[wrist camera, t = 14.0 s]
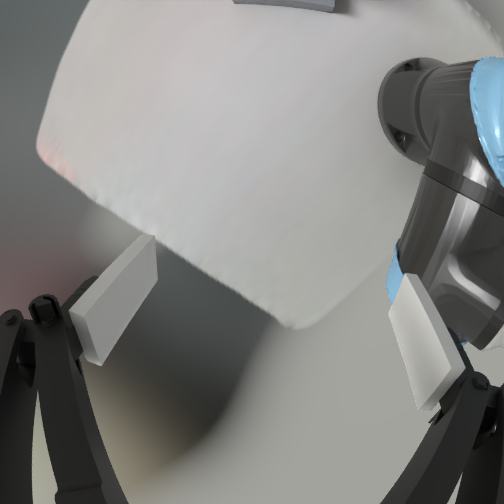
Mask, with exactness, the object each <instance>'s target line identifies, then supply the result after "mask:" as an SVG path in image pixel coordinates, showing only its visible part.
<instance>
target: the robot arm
mask: <svg viewBox="0 0 504 504" xmlns="http://www.w3.org/2000/svg"><path fill="white" fill-rule="evenodd" d="M378 114H379V119H380V123H381V126H382V128H383V131H384V133H385V135H386V136H387V138H388V140H389V141H390V143H391V144H392V145H393V146H394V147H395V148H396V150H398V151H399V152H400V153H401V154H402V155H404V156H405V157H407V158H408V159H410V160H412V161H414V162H416V163H418V164H420V165H423V166H425V169H424V172H423V174H422V178H421V181H420V184H419V187H418V190H417V193H416V196H415V199H414V202H413V205H412V208H411V211H410V214H409V216H408V219H407V222H406V224H405V227H404V230H403V232H402V235H401V238H400V239H398V241H397V243H396V245H395V249H394V256H393V259H392V262H391V264H390V267H389V270H388V273H387V277H386V289H387V292H388V295H389V300H390V303H391V305H392V306H391V309H390V311H389V313H388V315H389V318H390V321H391V324H392V326H393V329H394V332H395V335H396V338H397V341H398V344H399V347H400V351H401V354H402V357H403V360H404V363H405V367H406V370H407V373H408V377H409V380H410V384H411V387H412V391H413V395H414V398H415V402H416V406H417V410H418V411H426V410H432V409H433V408H434V407H435V406H436V405H437V403H438V402H439V403H440V406H441V409H440V410H439V411H438V412H437V413H436V414H435V415H434V417H433V418H432V419H431V420H430V421H429V422H428V423H431V422H432V421H433V422H432V424H431V426H430V428H429V429H428V431H427V433H426V435H425V437H424V438H423V440H422V442H421V444H420V445H419V447H418V449H417V451H416V452H415V454H414V455H413V457H412V459H411V460H410V462H409V463H408V465H407V467H406V468H405V470H404V471H403V473H402V474H401V476H400V477H399V479H398V480H397V482H396V483H395V484H394V486H393V487H392V488H391V490H390V491H389V493H388V494H387V495H386V497H385V498H384V499H383V501H382V502H381V503H380V504H447V503H448V501H449V499H450V497H451V495H452V493H453V491H454V489H455V487H456V485H457V483H458V480H459V478H460V476H461V474H462V478H461V482H460V487H459V491H458V495H457V498H456V502H455V504H504V383H503V385H502V386H501V387H496V386H492V385H490V382H489V380H488V379H487V377H486V376H485V375H483V374H482V373H480V372H476V371H474V369H473V367H472V365H471V363H470V360H469V358H468V356H467V354H466V352H465V351H464V348H463V345H465V344H466V343H467V342H469V343H471V344H472V345H474V346H475V347H476V348H477V349H479V350H480V351H482V352H484V351H488V350H491V349H494V348H498V347H503V348H504V58H498V57H497V58H496V57H485V58H482V59H481V60H474V61H468V62H462V63H456V64H450V65H448V64H446V63H444V62H441V61H439V60H436V59H432V58H413V59H410V60H407V61H404V62H401V63H399V64H398V65H396V66H395V67H393V68H392V69H391V70H390V71H389V72H388V73H387V75H386V76H385V78H384V80H383V81H382V84H381V86H380V90H379V94H378ZM157 280H158V278H157V265H156V251H155V236H153V235H146V234H141V235H140V236H139V237H138V238H137V239H136V240H135V241H134V242H133V243H132V244H131V245H130V246H129V247H128V248H127V249H126V250H125V251H124V252H123V253H122V254H121V255H120V256H119V257H118V258H117V259H116V260H115V261H114V262H113V263H112V264H111V265H110V266H109V267H108V268H107V269H106V270H105V271H104V272H103V273H102V274H101V275H100V277H97V276H93V277H91V278H89V279H88V280H86V281H84V283H83V284H82V285H81V286H80V287H79V289H77V290H76V291H75V292H74V294H72V295H71V296H70V297H69V298H68V300H67V301H66V302H65V303H64V304H63V305H62V306H61V307H60V306H59V303H58V300H57V298H56V297H55V296H53V295H49V294H45V295H41V296H38V297H36V298H35V299H34V300H32V302H31V303H30V304H29V307H28V308H29V311H30V314H31V316H32V319H33V320H27V319H24V318H23V315H22V313H21V311H19V310H17V309H12V310H8V311H6V312H4V313H3V314H2V315H1V316H0V504H33V499H32V498H33V497H32V442H33V426H34V416H35V407H36V399H37V391H38V393H39V401H40V409H41V416H42V422H43V428H44V432H45V438H46V443H47V447H48V452H49V456H50V461H51V464H52V468H53V472H54V476H55V479H56V482H57V487H58V491H57V493H56V494H55V502H56V504H129V503H128V501H127V499H126V497H125V495H124V493H123V491H122V489H121V486H120V485H119V482H118V480H117V477H116V475H115V473H114V470H113V468H112V465H111V463H110V460H109V457H108V455H107V452H106V449H105V447H104V444H103V441H102V438H101V435H100V432H99V429H98V426H97V423H96V420H95V416H94V413H93V409H92V406H91V402H90V398H89V395H88V391H87V387H86V383H85V379H84V374H83V370H82V366H81V362H80V359H79V356H80V355H81V353H82V352H84V355H85V357H86V360H87V361H90V362H92V363H95V364H98V365H100V366H102V364H103V363H104V361H105V359H106V358H107V356H108V355H109V353H110V351H111V350H112V348H113V347H114V345H115V343H116V342H117V340H118V338H119V337H120V336H121V334H122V332H123V331H124V329H125V328H126V326H127V325H128V323H129V321H130V320H131V319H132V317H133V316H134V314H135V313H136V311H137V310H138V308H139V307H140V305H141V304H142V302H143V301H144V299H145V298H146V296H147V295H148V293H149V292H150V290H151V289H152V287H153V286H154V285H155V283H156V282H157ZM495 426H496V430H495ZM462 472H463V473H462Z"/></svg>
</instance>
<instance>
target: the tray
mask: <svg viewBox="0 0 504 504" xmlns="http://www.w3.org/2000/svg"><path fill="white" fill-rule="evenodd" d="M233 2H234V3H237V4H264V5H277V6H288V7H297V8H304V9H311V10H318V11H324V12H329V13H332V12H333V9H334V7H335V0H233Z"/></svg>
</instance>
